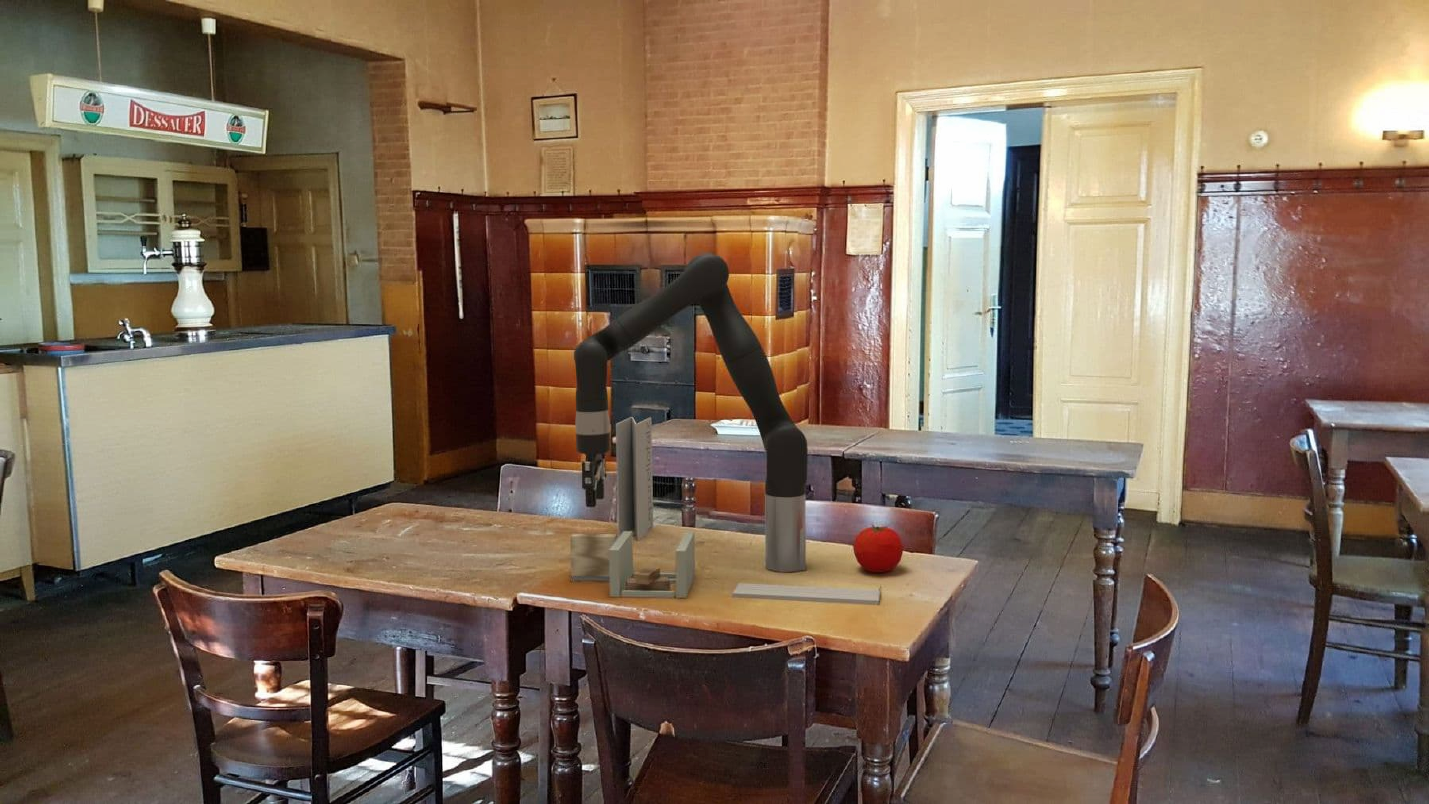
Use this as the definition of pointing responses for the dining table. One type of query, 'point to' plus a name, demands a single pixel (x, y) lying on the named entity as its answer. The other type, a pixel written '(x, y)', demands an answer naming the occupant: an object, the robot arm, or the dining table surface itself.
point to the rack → (684, 573)
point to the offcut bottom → (649, 585)
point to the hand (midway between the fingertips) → (595, 502)
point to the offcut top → (647, 575)
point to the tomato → (878, 549)
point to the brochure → (634, 476)
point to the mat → (591, 578)
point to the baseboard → (808, 593)
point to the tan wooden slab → (591, 554)
